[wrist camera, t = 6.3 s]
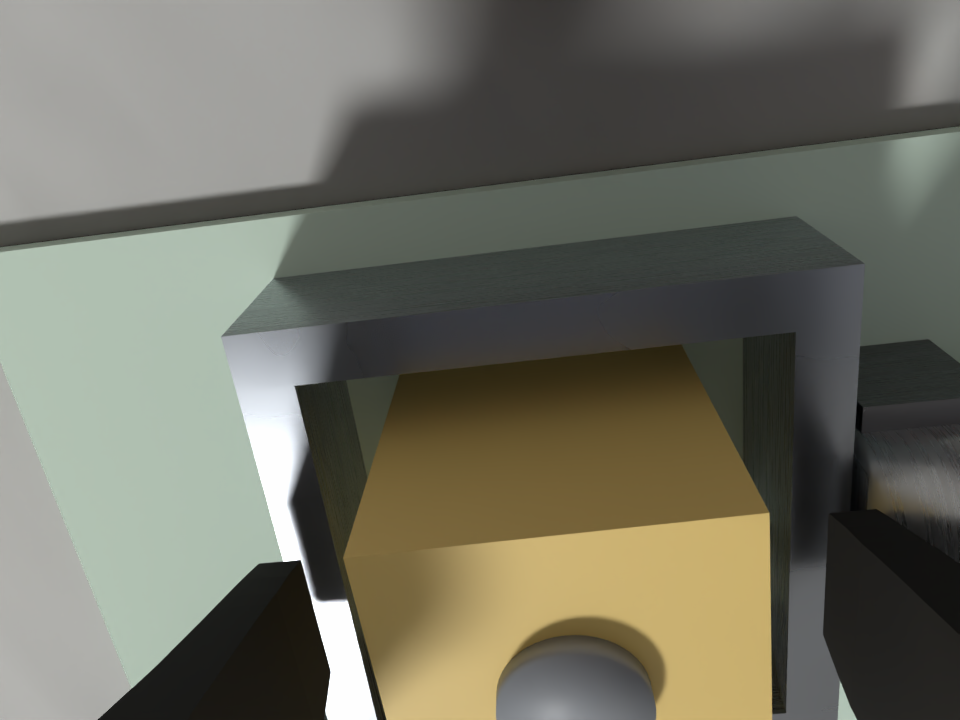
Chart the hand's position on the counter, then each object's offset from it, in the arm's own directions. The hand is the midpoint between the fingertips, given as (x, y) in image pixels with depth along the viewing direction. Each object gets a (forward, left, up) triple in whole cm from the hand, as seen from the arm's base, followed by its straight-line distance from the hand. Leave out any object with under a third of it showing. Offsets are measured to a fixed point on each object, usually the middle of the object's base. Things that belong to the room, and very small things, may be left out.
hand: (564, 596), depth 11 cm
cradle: (0, 0, -4) cm, 4 cm away
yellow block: (0, 0, -3) cm, 3 cm away
